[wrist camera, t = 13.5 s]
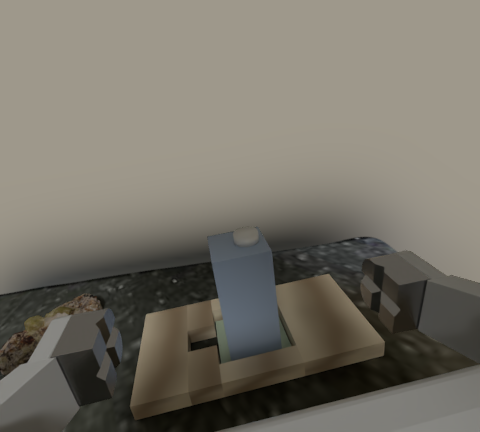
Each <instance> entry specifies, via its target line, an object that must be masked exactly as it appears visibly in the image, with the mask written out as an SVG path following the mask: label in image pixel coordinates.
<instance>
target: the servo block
mask: <svg viewBox="0 0 480 432" xmlns="http://www.w3.org/2000/svg"><path fill="white" fill-rule="evenodd" d="M207 238H208V244H209V250H210V256H211V262H212V267H213V272H214V277H215V282H216V287H217V292H218V297H219V302H220V307H221V312H222V317H223V322H224V327H225V332H226V337H227V342H228V347H229V352H230V357H231V361H234V360H238V359H242V358H246V357H250V356H255V355H259V354H263V353H267V352H271V351H275V350H279V349H282V345H281V335H280V325H279V316H278V306H277V297H276V287H275V278H274V268H273V258H272V250H271V249H270V247H269V245H268V244H267V242H266V240H265V238H264V237H263V235H262V233H261V231H260V230H259V228H258V227H242V228H239V229H237V230H235V231H233V232H228V233H223V234H218V235H214V236H208V237H207Z"/></svg>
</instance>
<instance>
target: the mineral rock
mask: <svg viewBox="0 0 480 432" xmlns="http://www.w3.org/2000/svg"><path fill="white" fill-rule="evenodd" d="M96 310H102V307H101V304H100V301H99V300H97V297H96V296H94V297H93V295H90V294H82V295H81V296H79V297H75V298H74V299H73V300H72V301H70V302H67V303H64V304H62V305H60V306H59V307H56V308H55V309H54V310H52V311H51V312H50V313H49V314H48V313H47V314H46V315H45V318H43V317H41V316H34V317H30V318H28V319H27V320H26V321H25V322H24V325H25V330H24V331H22V332H18V333H16V334H14V335H13V336H12V337H10V338H9V340H8V341H7V342H6V343H5V344H4V345H3V346H2V349H1V350H0V371H1V373H2V375H3V374H4V375H5V376H7V375H8V374H9V373H11V372H12V371H13V370H14V369H16V368H17V367H18V366H19V365H21V364H25V363H27V362H28V361H29V359H30V357H31V355H32V354H33V352H34V350H35V349H36V347H37V345H38V343H39V342H40V340H41V338H42V336H43V335H44V333H45V331H46V330H47V328H48V326H49V324H50V323H51V321H52V320H53V319H55V318H57V317H62V316H67V315H74V314H78V313H84V312H90V311H96Z"/></svg>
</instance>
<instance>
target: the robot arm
mask: <svg viewBox="0 0 480 432" xmlns="http://www.w3.org/2000/svg"><path fill="white" fill-rule="evenodd" d="M362 271H363V272H364V274H365V276H364V278H363V279H362V281H361V293H362V297H363V299H364V301H365V303H366V305H367V306H368V307H369V308H370V309H371V310H374V311H376V312H378V313H379V320H380V321H381V322H382V323H383V324H384V325H385V326H386V327H387V329H388V330H389V331H390V332H391V333H392V334H394V333H399V332H404V331H409V330H414V329H418V331H420V332H422V333H424V334H426V335H428V336H430V337H431V338H433V339H435V340H437V341H439V342H441V343H442V344H444V345H446V346H448V347H450V348H452V349H453V350H455V351H457V352H459V353H461V354H463V355H465V356H466V357H468V358H470V359H472V360H474V361H476V362H477V363H479V364H480V283H478V282H474V281H471V280H467V279H464V278H460V277H456V276H453V275H450V276H446V275H445V274H444V273H442V272H440V271H439V270H437V269H436V268H435V267H433V266H432V265H430V264H429V263H427V262H426V261H424V260H423V259H421V258H420V257H419V256H417V255H416V254H414V253H413V252H411V251H402V252H397V253H393V254H390V255H385V256H380V257H375V258H370V259H365V260H364V262H363V264H362ZM114 321H115V317H114V315H113V312H112V310H110V309H109V308H108V309H102V310H96V311H90V312H84V313H78V314H74V315H67V316H62V317H57V318H55V319H53V320H52V321H51V323H50V324H49V326H48V328H47V330H46V331H45V333H44V335H43V336H42V338H41V340H40V342H39V343H38V345H37V347H36V349H35V350H34V352H33V354H32V355H31V357H30V359H29V361H28V362H27V363H25V364H21V365H19V366H18V367H17V368H16V369H14V370H13V371H12V372H11V373H9V374H8V375H7V376H5V377H4V378H3V379H2V380H0V432H62V430H63V429H64V428H65V427H66V425H67V424H68V423H69V421H70V420H71V419H72V418H73V416H74V415H75V414H76V412H77V411H78V410H79V406H83V405H87V404H91V403H95V402H99V401H103V400H107V399H110V398H112V397H113V393H114V388H115V384H116V380H117V374H116V371H115V368H116V367H117V366H118V365H119V364H120V362H121V358H122V339H121V335H120V332H119V330H118V329H116V328H115V327H113V324H114ZM216 432H480V365H476V366H472V367H468V368H464V369H460V370H456V371H452V372H448V373H444V374H440V375H436V376H433V377H429V378H425V379H421V380H417V381H413V382H409V383H405V384H401V385H397V386H393V387H389V388H385V389H381V390H377V391H374V392H370V393H366V394H362V395H358V396H354V397H350V398H346V399H342V400H338V401H334V402H330V403H326V404H322V405H318V406H314V407H311V408H307V409H303V410H299V411H295V412H291V413H287V414H283V415H279V416H275V417H271V418H267V419H263V420H259V421H255V422H251V423H248V424H244V425H240V426H236V427H232V428H228V429H224V430H220V431H216Z"/></svg>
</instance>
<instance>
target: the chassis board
mask: <svg viewBox="0 0 480 432" xmlns="http://www.w3.org/2000/svg"><path fill="white" fill-rule="evenodd" d="M275 287H276V297H277V306H278V315H279V317H280V318H279V325H280V335H281V345H282V349H279V350H275V351H271V352H267V353H263V354H259V355H255V356H250V357H246V358H242V359H238V360H234V361H231V357H230V352H229V347H228V342H227V337H226V332H225V327H224V322H223V317H222V312H221V307H220V302H219V298H218V299H214V300H209V301H205V302H200V303H196V304H191V305H187V306H182V307H178V308H173V309H169V310H164V311H160V312H155V313H151V314H146V319H145V324H144V330H143V336H142V341H141V347H140V353H139V358H138V364H137V369H136V375H135V381H134V386H133V392H132V398H131V403H130V408H131V411H132V413H133V416H134V418H135V420H139V419H142V418H146V417H150V416H154V415H158V414H162V413H165V412H169V411H173V410H177V409H181V408H185V407H189V406H192V405H196V404H200V403H204V402H208V401H212V400H215V399H219V398H223V397H227V396H231V395H235V394H238V393H242V392H246V391H250V390H254V389H258V388H261V387H265V386H269V385H273V384H277V383H281V382H284V381H288V380H292V379H296V378H300V377H304V376H307V375H311V374H315V373H319V372H323V371H327V370H330V369H334V368H338V367H342V366H346V365H350V364H353V363H357V362H361V361H365V360H369V359H373V358H377V357H380V356H384V346H385V341H384V340H383V339H382V338H381V337H380V335H379V334H378V333H377V332H376V331H375V329H374V328H373V327H372V326H371V325H370V323H369V322H368V321H367V320H366V319H365V317H364V316H363V315H362V314H361V312H360V311H359V310H358V309H357V308H356V306H355V305H354V304H353V303H352V302H351V300H350V299H349V298H348V297H347V296H346V294H345V293H344V292H343V291H342V290H341V288H340V287H339V286H338V285H337V283H336V282H335V281H334V280H333V279H332V277H331V276H330V275H329V274H326V275H321V276H317V277H312V278H308V279H303V280H299V281H294V282H290V283H285V284H281V285H276V286H275ZM280 320H281V321H280ZM281 322H282V323H281ZM215 323H216V329H215ZM282 324H283V325H282ZM283 326H284V328H283ZM284 329H285V330H284ZM216 330H217V337H218V344H219V352H220V359H221V364H220V359H219V354H218V349H217V345H215V346H211V347H207V348H203V349H199V350H195V351H191V343H193V342H197V341H202V340H206V339H210V338H214V337H216ZM285 331H286V332H285ZM286 333H287V335H286ZM287 336H288V337H287ZM288 338H289V339H288ZM289 340H290V341H289ZM290 342H291V344H290ZM291 345H292V346H291Z"/></svg>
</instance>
